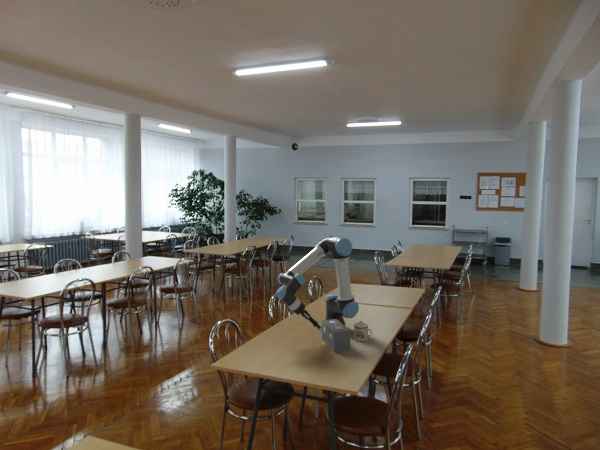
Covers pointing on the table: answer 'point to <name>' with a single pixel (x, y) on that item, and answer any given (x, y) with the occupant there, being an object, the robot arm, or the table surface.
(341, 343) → the button console
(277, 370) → the table surface
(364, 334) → the teacup with lid
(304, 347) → the table surface
